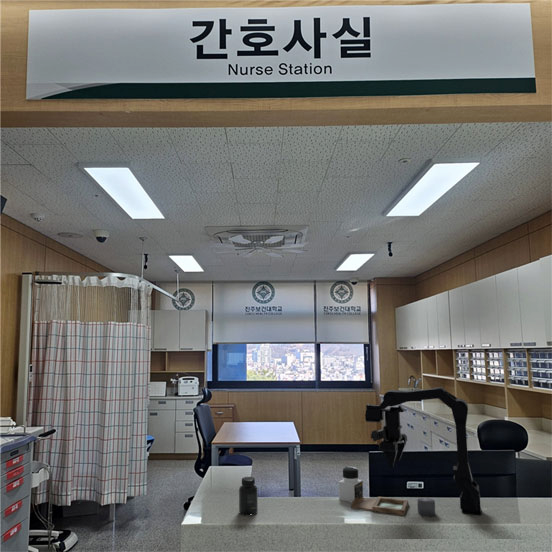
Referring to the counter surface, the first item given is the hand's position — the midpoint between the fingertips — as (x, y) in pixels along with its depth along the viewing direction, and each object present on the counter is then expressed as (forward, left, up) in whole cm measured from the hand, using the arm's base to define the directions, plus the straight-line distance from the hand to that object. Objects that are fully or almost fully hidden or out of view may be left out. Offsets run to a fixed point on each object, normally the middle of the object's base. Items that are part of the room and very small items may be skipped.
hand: (394, 464), depth 188 cm
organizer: (+5, +6, -14) cm, 16 cm away
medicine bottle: (+17, +1, -15) cm, 23 cm away
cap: (-12, +7, -14) cm, 20 cm away
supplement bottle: (+49, +29, -14) cm, 59 cm away
